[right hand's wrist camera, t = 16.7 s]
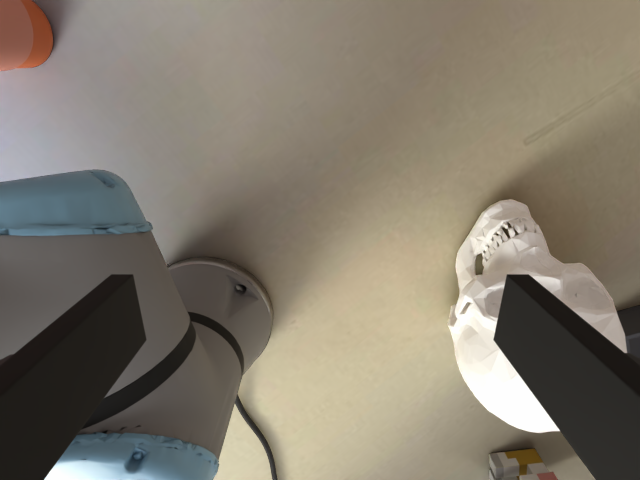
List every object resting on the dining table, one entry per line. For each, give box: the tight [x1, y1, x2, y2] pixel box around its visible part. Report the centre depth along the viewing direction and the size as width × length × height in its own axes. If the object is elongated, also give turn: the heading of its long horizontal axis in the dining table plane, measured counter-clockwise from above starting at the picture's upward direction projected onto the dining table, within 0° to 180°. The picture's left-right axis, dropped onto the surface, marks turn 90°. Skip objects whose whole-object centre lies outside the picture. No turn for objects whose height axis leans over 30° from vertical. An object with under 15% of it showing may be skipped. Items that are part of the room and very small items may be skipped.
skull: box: [447, 199, 627, 433], centre depth 35 cm, size 13×22×16 cm, turn 12°
